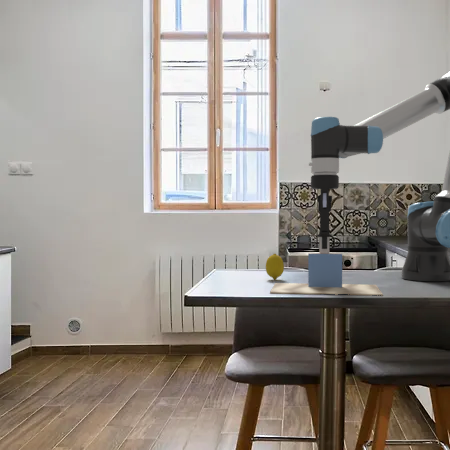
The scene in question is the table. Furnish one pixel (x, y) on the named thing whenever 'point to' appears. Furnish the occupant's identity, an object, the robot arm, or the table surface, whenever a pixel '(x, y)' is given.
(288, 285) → the board
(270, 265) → the lemon
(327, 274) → the tile
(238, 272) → the table surface
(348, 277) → the table surface
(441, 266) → the robot arm
